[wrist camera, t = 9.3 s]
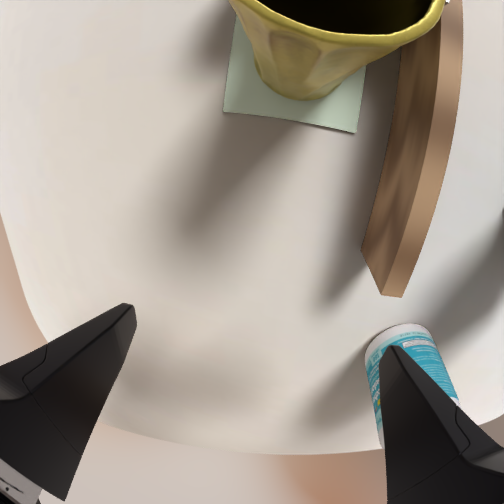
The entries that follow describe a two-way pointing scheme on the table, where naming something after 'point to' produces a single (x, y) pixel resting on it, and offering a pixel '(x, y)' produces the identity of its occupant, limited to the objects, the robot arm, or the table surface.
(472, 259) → the table surface
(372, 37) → the vase
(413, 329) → the pill bottle
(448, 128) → the back rail
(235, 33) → the mat
